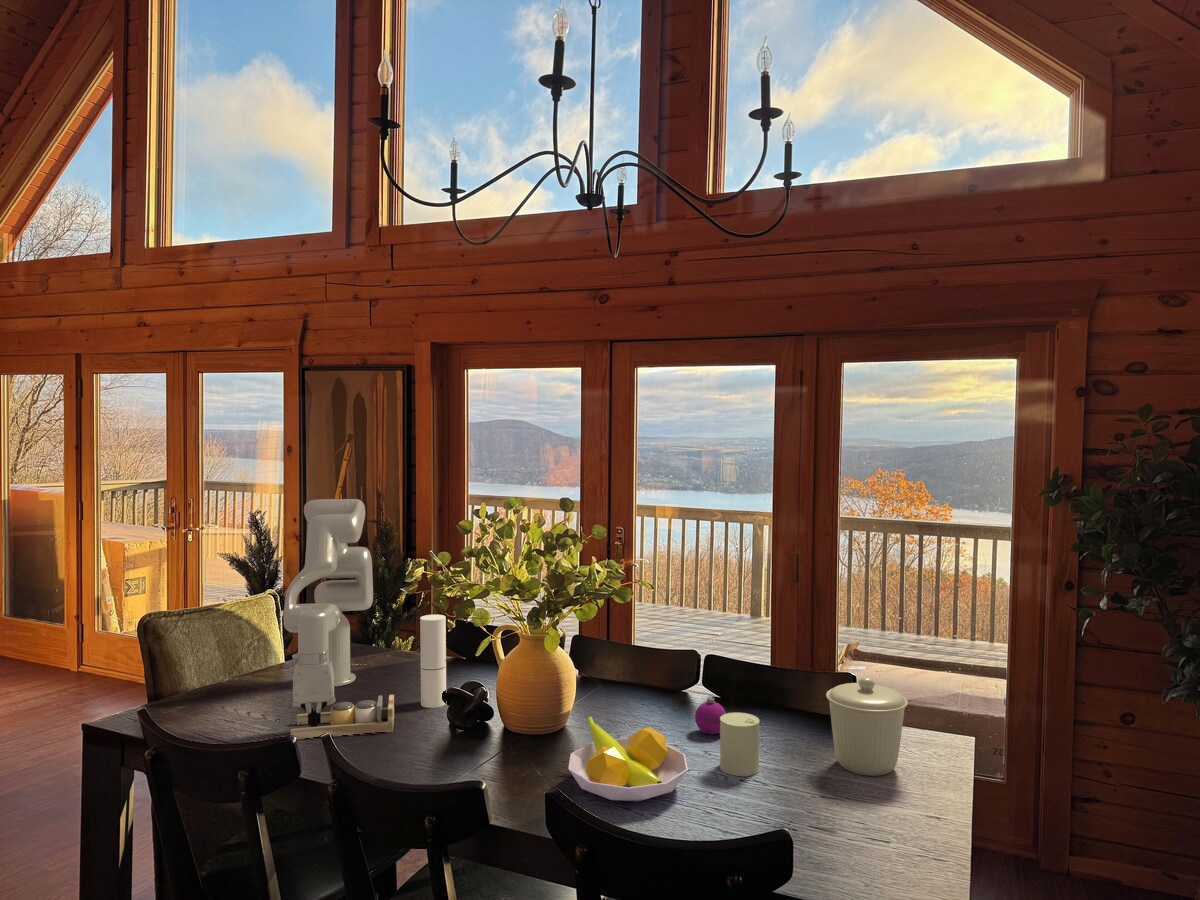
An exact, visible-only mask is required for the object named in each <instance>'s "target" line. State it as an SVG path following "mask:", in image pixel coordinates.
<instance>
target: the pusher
mask: <svg viewBox="0 0 1200 900" xmlns="http://www.w3.org/2000/svg"><path fill="white" fill-rule="evenodd" d="M376 703H377V722H383V719H384V718H383V709H382V708H383V695H378V698H377V702H376Z"/></svg>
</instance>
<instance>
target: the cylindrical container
mask: <svg viewBox="0 0 1200 900" xmlns="http://www.w3.org/2000/svg"><path fill="white" fill-rule="evenodd" d="M446 617H447V616H445V615H444V614H426V615H422V616H420V618H419V620H420V621H419V622H420V623H419V624H420V626H419V627H420V628H419V629H420V631H419V632H420V636H419V637H420V638H419V641H420V706H421V707H423V708H428V709H433V708H434V709H435V708H437V709H438V708H441V707H444V706H445V705H446V704H445V703H444V702H443V701H442V693H443V691H445V690H446V691H447V645H446V644H447V641H446V640H447V637H446V635H447V631H446V629H447V628H446V623H447V621H446V620H447V619H446Z"/></svg>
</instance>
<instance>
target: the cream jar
mask: <svg viewBox="0 0 1200 900" xmlns="http://www.w3.org/2000/svg"><path fill="white" fill-rule="evenodd" d="M377 703H378V702H377V701H376V700H374V699H373V700H371V699H366V700H359V701H358V702H356V703H355V705H354V722H355V724H358V723H371V722H377Z"/></svg>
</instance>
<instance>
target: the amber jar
mask: <svg viewBox="0 0 1200 900" xmlns="http://www.w3.org/2000/svg"><path fill="white" fill-rule="evenodd" d="M331 705H332V706H331V707H330V712H331V722H330V726H332V725H345V724H355V722H354V706H355V705H354V703H353V702H350V701H340V702H335V703H333V704H331Z"/></svg>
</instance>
